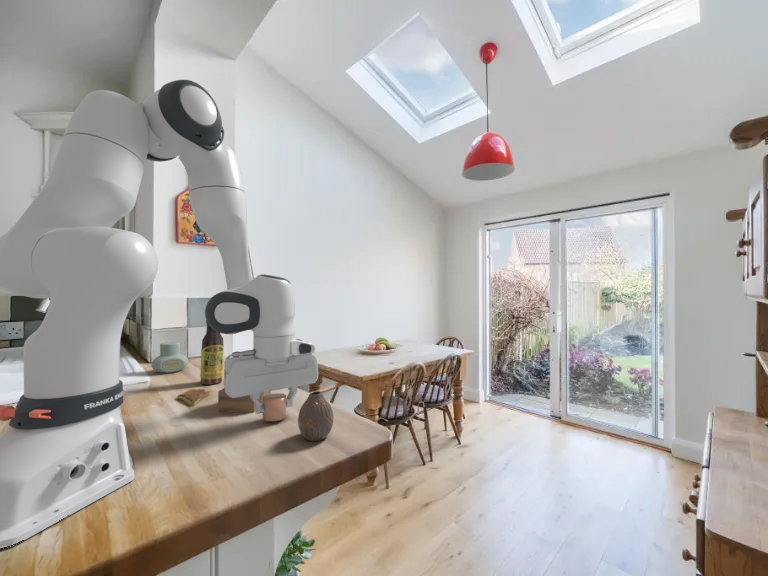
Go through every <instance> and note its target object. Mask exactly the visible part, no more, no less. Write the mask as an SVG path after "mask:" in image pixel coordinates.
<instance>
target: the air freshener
mask: <svg viewBox="0 0 768 576" xmlns="http://www.w3.org/2000/svg"><path fill="white" fill-rule="evenodd" d="M159 349H160V350H159V351H160V352H159V354H160V355H159V356H156V357H155V358H153V360H152V362H151V368H152V369H153V370H154V371H155V372H156V373H161V374H174V372H175V373H178V372H180V371H181V370H183V369H185V368H186V367H187V365H188V364H189V358H188V357H187V356H186V355H184V354H183V353H181V343H180V342H179V341H165V342H162V343H160V344H159Z"/></svg>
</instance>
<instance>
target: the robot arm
mask: <svg viewBox="0 0 768 576" xmlns="http://www.w3.org/2000/svg"><path fill="white" fill-rule="evenodd" d="M224 139H225V130H224V127H223V120H222V115H221V113H220V111H219V107H218V105H217V103H216V101H215V100H214V98H213V97H212V95H211V94H210V92H208V91H207V90H206V89H205V88H204V87H203V86H201V85H200V84H199V83H197V82H195V81H193V80H189V79H177V80H172V81H170V82H167V83H165V84H164V85H161V88H159V89H157V90H156V91H154V92H152V93H151V94H148V95H147V96H145V97H144V98H143V99H142V100H140V101H139V102H135V101H134V100H132V99H131V98H129V97H127V96H125V95H124V94H121V93H119V92H116V91H113V90H107V89H106V90H105V89H98V90H97V89H96V90H93V91H90V92H89V93H87V94H86V95H85V96H84V97H83V99H82V100H81V101H80V103H79V104H78V106H77V107H76V108H75V110H74V111H73V113H72V115H71V118H70V119H69V120H68V124H67V126H65V130H64V133H63V136H62V139H61V142H60V144H59V148H58V150H57V153H56V156H55V158H54V162H53V164H52V167H51V169H50V173H49V175H48V177H47V179H46V181H45V184H43V186H42V188H41V189H40V191H39V192H38V194H37V195H36V196H35V198H34V199H33V201H32V202H31V203H30V204H29V206H28V207H27V208H26V210H25V211H24V212H23V214H22V215H21V216H20V217H19V219H18V220H17V221H16V222H15V224H14V225H13V226H12V227H11V228H10V229H9V230H8V231H7V232H5V234H3V235H1V236H0V289H1V290H4V291H6V292H9V293H12V294H15V295H19V296H23V297H28V298H31V299H49V304H48V307H47V311H46V313H45V316H44V318H43V321H42V322H41V324H40V325H39V327H37V330H35V331H34V332H33V333H32V334H30V335H29V336H28V337H27V338H26V340H25V341H24V345H23V348H22V349H23V394H22V395H21V396H19V397H20V398H19V399H18V401H17V403H16V406H13V405H0V421H1V422H6V421H9V423H8V426H9V427H8V428H6V429H5V431H3V433H1V434H0V546H1V547H2V546H10V545H13V544H15V543H18V542H19V541H22V540H24V541H26V540H28V539H30V538H31V537H33V536H34V535H36V534H38V533H40V532H42V531H43V530H45V529H47V528H49V527H51V526H53V525H54V524H56V523H58V522H60V521H61V519H62V520H63V518H64V519H66V518H67V517H69V516H71V515H72V514H74V513H76V512H78V511H80V510H82V509H84V508H85V507H87V506H89V505H91V504H92V503H94V502H97V501H98V500H99V499H101V498H102V497H105V496H107V495H109V494H110V493H112V492H114V491H116V490H118V489H119V488H121V487H123V486H125V485H126V484H129V483H130V482H132V481H134V480H135V471H134V469H133V464H134V462H133V459H132V456H131V454H130V451H129V447H128V441H127V433H126V428H125V424H124V419H123V415H122V410H121V409H122V407H121V405H122V404H124V394H125V392H124V387H123V386H124V384H123V383H124V382H123V381H122V380H121V379H120V364H121V363H120V360H121V359H120V358H121V357H120V356H121V337H122V333H123V329H124V324H125V321H126V319H127V316H128V314H129V312H130V309H131V308H132V306H133V304H134V302H135V301H136V300H137V298H138V297H139V296H141V294H142V293H143V292H144V291H146V290H147V289H148V288H150V287H151V285H152V283H154V281H155V278H156V276H157V273H158V269H159V261H158V257H157V253H156V251H155V248H154V247H153V245H152V244H151V243H150V241H149V240H147V238H145V237H144V236H143V235H142V234H139V233H138V232H137V233H136V232H134V231H130V230H125V229H121V228H114V227H113V226H114V225H115V224H117V222H118V221H120V220H121V219H123V218H124V217H125V216H127V215H128V214H129V213H131V211H132V210H133V209H134V207H135V205H136V202H137V198H138V195H139V190H140V186H141V183H142V179H143V177H144V176H143V175H144V171H145V167H146V162H147V161H153V162H167V161H172V160H174V159H176V158H178V159H179V161H180V162H181V163H182V165H183V167H184V169H185V172H186V175H187V182H188V183H187V184H188V193H189V200H190V201H189V202H190V206H191V211H192V214H193V216H194V220H195V222H196V224H197V226H198V227H199V228H200V229H201V231H202V232H203V233H204V234H205V235H206V236H207V237H208V238H209V239H210V240H211V241H212V242H213V244H214V245H215V246H216V248H217V250H218V251H219V254H220V256H221V260H222V265H223V270H224V276H225V282H226V288H227V289H226V290H223V291H220V292H218V293H216V294H214V295H212V296H211V298H210V299H208V302H207V303H206V306H205V310H204V315H205V316H204V317H205V321H206V320H207V323H208V324H209V326H210V327H211V328H212V329H213V330H215V331H217V332H219V333H220V334H221V335H222V334H225V335H236V334H239V333H242V332H246V331H251V332H253V340H252V341H253V343H252V344H253V347H252V348H253V349H249V350H248V349H247V350H243V351H233V352H232V353H231V354H229V355H227V356H226V357H225V358H224V369H225V372H226V379H225V393H226V394H227V395H228V396H229V397H231V398H237V397H242V396H247V395H250V398H251V399H252V401H253V402H254V404H255V412H254V413H255V414H256V415H259V414H263V413H264V412H265V410H264V408H265V405H264V404H263V403H259V402H258V400H257V398H259V396H260V393H264V392H269V391H270V392H273V391H279V390H284V389H287V390H288V394H287V395H286V409H287V408H291V407H293V404H294V403H293V402H294V401H293V399H294V398H295V396H296V395H297V392H298V387H300V386H305V385H307V386H308V385H311V384H315V383H317V380H318V379H319V363H318V358H317V356H316V355H315V354H314V353H315V351H316V345H315V344H314V343H311V342H309V341H304V340H302V339H300V338H296V332H295V328H294V319H295V315H296V314H295V313H296V302H295V292H294V287H293V284H292V283H291V281H290V280H288V279H287V278H285V277H280V276H275V275H270V274H259V275H256V277H254V272H253V265H252V259H251V254H250V249H249V240H248V239H249V237H248V236H249V235H248V218H247V217H248V214H247V199H246V191H245V185H244V179H243V175H242V171H241V168H240V164H239V161H238V157H237V156H236V152H234V150H233V149H232V148H231V147H230V146H229V145H228V144H226V143H223V141H224ZM207 323H206V324H207ZM68 515H69V516H68ZM59 520H60V521H59ZM22 542H23V541H22ZM18 544H19V543H18ZM13 546H14V545H13ZM10 547H11V546H10Z"/></svg>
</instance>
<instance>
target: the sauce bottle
mask: <svg viewBox="0 0 768 576" xmlns="http://www.w3.org/2000/svg"><path fill="white" fill-rule="evenodd" d="M205 321H206V322H205V323H206V331H205V335H204V336H203V338H202V340H201V353H200V377H199V378H200V384H201V385H208V386H209V385H210V386H211V385H217V384H219V383H220V384H221V382H222V381H223V378H224V350H225V348H224V347H225V346H224V337H223V336H222V333H219V332H217V331H215V330H213V329H212V328H211V327H210V326H209V324H208V323H207V320H206V319H205Z"/></svg>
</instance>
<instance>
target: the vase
mask: <svg viewBox="0 0 768 576" xmlns="http://www.w3.org/2000/svg"><path fill="white" fill-rule="evenodd" d="M297 422H298V424H297V426H298V429H299V433H300V434H301V436H302V437H303V438H305V439H306V440H307V441H309V440H310V441H311V442H318V440H319V441H322V440H324V439H325V438H327V437H328V435H329V434H330V433H331V431H332V429H333V426H334V411H333V408H332V406H331V404H330V403H329V401H328V400H327V399H326V398H325V397H324V394H323V392H322V391H318V390H317V391H311V392H310V393H309V394H308V397H307V398H306V400H305V401H304V402H303V404H302V405H301V407H300V409H299V411H298V416H297Z"/></svg>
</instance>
